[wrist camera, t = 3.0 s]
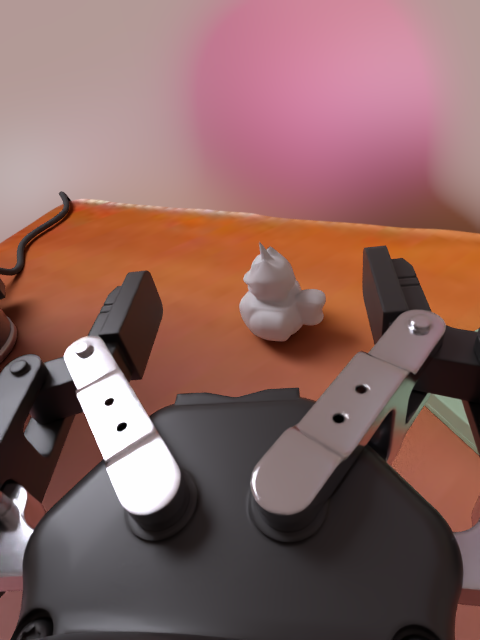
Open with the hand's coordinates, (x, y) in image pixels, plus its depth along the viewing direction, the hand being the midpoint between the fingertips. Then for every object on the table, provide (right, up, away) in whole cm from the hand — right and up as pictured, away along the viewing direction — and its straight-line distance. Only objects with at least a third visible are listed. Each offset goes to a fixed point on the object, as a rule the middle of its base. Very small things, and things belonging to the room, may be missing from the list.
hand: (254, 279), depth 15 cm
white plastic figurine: (+3, -2, +17) cm, 18 cm away
